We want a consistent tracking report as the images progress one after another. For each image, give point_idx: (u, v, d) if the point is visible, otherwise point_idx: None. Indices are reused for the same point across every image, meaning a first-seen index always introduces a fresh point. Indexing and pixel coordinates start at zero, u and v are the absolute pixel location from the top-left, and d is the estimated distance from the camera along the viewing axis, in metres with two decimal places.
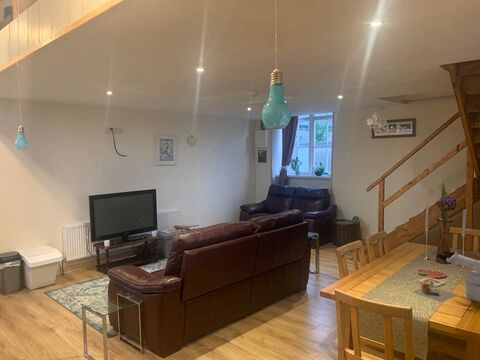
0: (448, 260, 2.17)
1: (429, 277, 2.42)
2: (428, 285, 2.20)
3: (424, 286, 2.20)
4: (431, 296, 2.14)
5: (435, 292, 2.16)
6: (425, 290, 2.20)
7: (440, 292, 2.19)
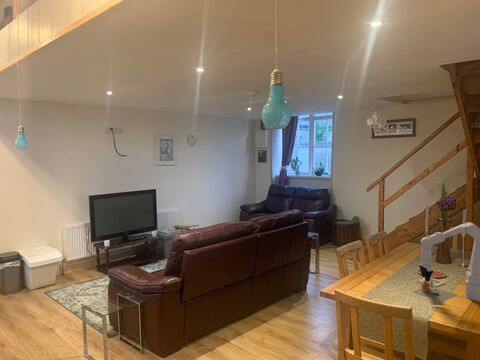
0: (429, 269, 2.14)
1: None
2: (428, 285, 2.20)
3: (424, 286, 2.20)
4: (431, 296, 2.14)
5: (435, 292, 2.16)
6: (425, 290, 2.20)
7: (440, 292, 2.19)
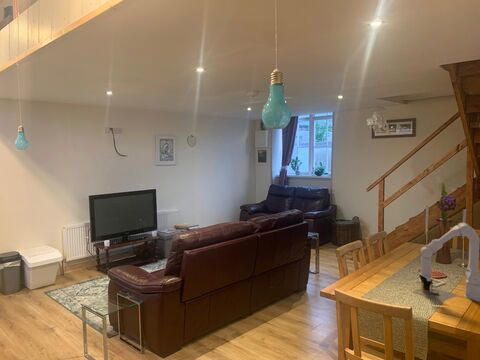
0: (429, 278, 2.14)
1: None
2: None
3: None
4: (431, 296, 2.14)
5: (435, 292, 2.16)
6: (425, 290, 2.20)
7: (440, 292, 2.19)
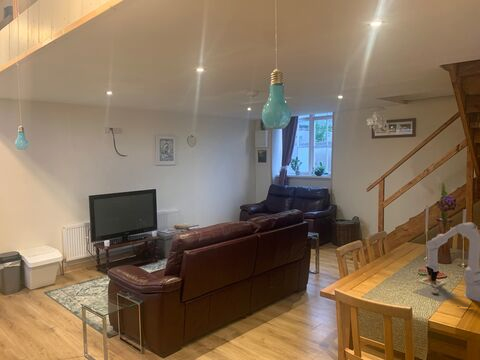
0: (435, 269, 2.28)
1: None
2: None
3: (430, 279, 2.34)
4: (431, 296, 2.14)
5: (435, 292, 2.16)
6: None
7: (440, 292, 2.19)
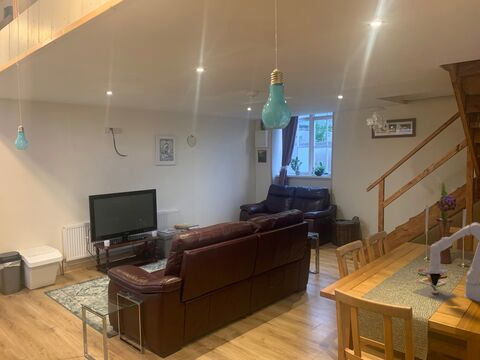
0: (423, 272, 2.23)
1: None
2: None
3: (430, 279, 2.34)
4: (431, 296, 2.14)
5: (435, 292, 2.16)
6: None
7: (440, 292, 2.19)
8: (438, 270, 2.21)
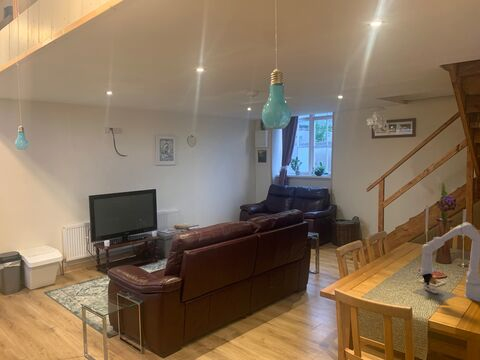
0: (419, 273, 2.21)
1: None
2: (434, 278, 2.33)
3: None
4: (431, 296, 2.14)
5: (437, 292, 2.16)
6: (431, 283, 2.34)
7: (440, 292, 2.19)
8: (431, 270, 2.22)
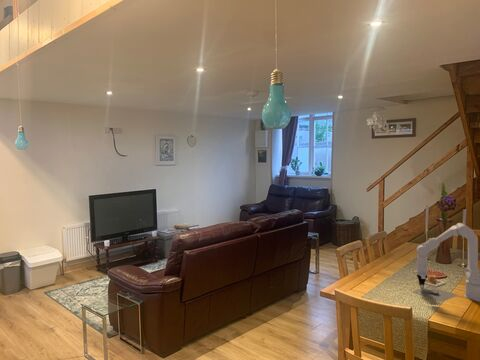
0: (423, 276, 2.15)
1: None
2: (434, 278, 2.33)
3: (430, 279, 2.34)
4: (431, 296, 2.14)
5: (438, 291, 2.17)
6: (431, 283, 2.34)
7: (440, 292, 2.19)
8: None
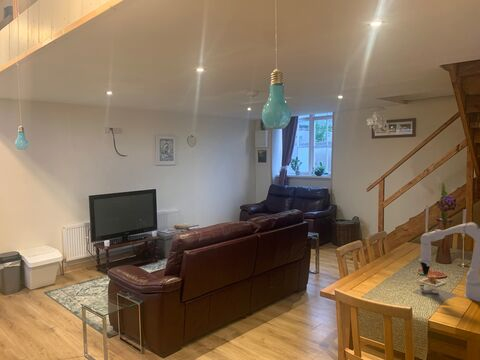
0: (428, 264, 2.20)
1: None
2: (434, 278, 2.33)
3: (430, 279, 2.34)
4: (431, 296, 2.14)
5: (438, 291, 2.17)
6: (431, 283, 2.34)
7: (440, 292, 2.19)
8: None
